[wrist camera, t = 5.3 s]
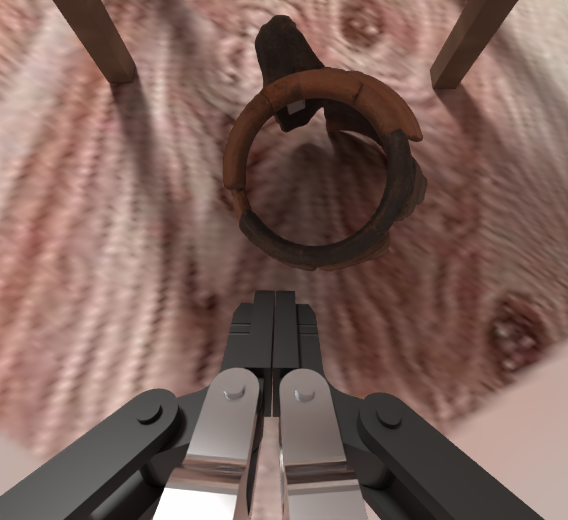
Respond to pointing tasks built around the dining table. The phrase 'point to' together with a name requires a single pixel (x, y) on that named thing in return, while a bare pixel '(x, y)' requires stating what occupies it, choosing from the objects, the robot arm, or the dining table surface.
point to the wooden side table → (444, 72)
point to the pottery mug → (339, 116)
